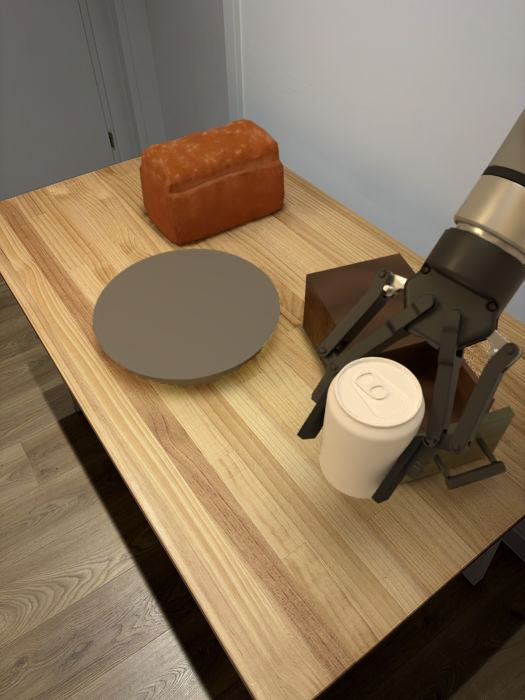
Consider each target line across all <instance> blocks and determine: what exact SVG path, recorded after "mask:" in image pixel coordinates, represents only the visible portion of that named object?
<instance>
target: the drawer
mask: <svg viewBox="0 0 525 700" xmlns="http://www.w3.org/2000/svg"><path fill="white" fill-rule="evenodd" d="M438 356H439V350H437V349H435V348H434V347H432V346H431V345H430V344H427V345H423V346H419V347H416V348H412V349H408V350H405V351H401V352H397V353H393V354H390V355H386V356H382V357H379V358H385V359H389V360H392V361H395V362H397V363H399V364H401V365H403V366H404V367H406V368H407V369H408V370H409V371H410V372H412V374H413V375H414V376H415V377H416V378H417V380H418V382H419V384H420V386H421V389H422V394H423V397H424V402H425V412H424V417H423V420H422V422H421V425H420V428H419V431H418V433H417V436H421V435H423V436H424V437H425V435H426V430H427V425H428V419H429V414H430V408H431V403H432V397H433V392H434V386H435V381H436V376H437V370H438ZM478 379H479V377H478V375H477V374H476V372H475V371H474V369H472V367H471V366H470V364H469V363H468V362H467V361H466V359H465V358H464V357H463V361H462V365H461V367H460V370H459V376H458V381H457V386H456V392H455V397H454V403H453V408H452V414H451V419H450V425H449V430H448V434H449V435H453V433H454V431H455V429H456V427H457V425H458V422H459V420H460V418H461V416H462V414H463V412H464V410H465V407H466V405H467V403H468V401H469V399H470V397H471V394H472V392H473V390H474V388H475V386H476V384H477V381H478ZM495 401H496V399H495V396H494V397H493V399H492V401H491V403H490V405H489V407H488V410H487V412H486V414H485V416H484V418H483V420H482V422H481V424H480V427H479V429H478V431H477V433H476V435H475V437H474V439H473V442H472V444H471V446H470V448H469V450H468V451H466V452H464V453H461V454H453V453H452V452H449V451H446V450H439V451H438V452H437V454H436V455H435V456H434V458H433V459H432V461H431V462H430V463H429V465H428V466H427V468H426V469H425V470H424V472H423V473H422V474H421V475H420V476H418V477H416V478H413V479H412V478H410V477H409V476H408V475H407V474H406V475H405V477H404V478H403V479H402V481H401V482H400V484H399V485H402V484H405V483H408V482H411V481H414V480H417V479H420V478H423V477H427V476H430V475H433V474H437V473H441V475H442V476H443V478H444V480H443V481H444V485H445V487H446V489H447V490H448V491H454V490H457V489H460V488H463V487H465V486H469V485H472V484H475V483H478V482H481V481H484V480H486V479H489V478H493V477H496V476H499V475H501V474H505V473H506V472H507V466H506V463H505V462H504V461H502V460H498V459H497V458H496V455H494V452H495V450H496V448H497V446H498V445H499V443H500V441H501V439H502V438H503V436H504V435H505V433H506V431H507V429H508V428H509V426H510V424H511V423H512V421H513V419H514V417H515V415H516V413H515V412H514V410H513V409H512V407H511V406H506V407H502V408H498V409H496V410H492V411H491V409H492V407H493V405H494V403H495ZM485 457H486V458H487V460H488V461H489V462H490V463H487V464H484V465H481V466H478V467H475V468H472V469H469V470H465V471H463V472H460V473H457V474H454V475H452V474H451V473H450V471H449V469H451V468H454V467H458V466H461V465H463V464H467V463H470V462H473V461H477V460H479V459H483V458H485Z"/></svg>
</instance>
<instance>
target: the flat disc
mask: <svg viewBox="0 0 525 700" xmlns="http://www.w3.org/2000/svg"><path fill="white" fill-rule="evenodd" d="M280 316H281V301H280V296H279V293H278V290H277V288H276V285H275V284H274V282H273V281H272V279H271V278H270V277H269V275H268V274H267V273H266V272H264V270H263V269H261V268H260V267H259V266H257V265H256V264H254V263H253V262H252V261H250V260H248V259H246V258H243V257H241V256H239V255H237V254H233V253H230V252H226V251H222V250H217V249H209V248H181V249H174V250H168V251H163V252H160V253H157V254H154V255H149V256H148V257H145V258H142V259H140V260H138V261H136V262H135V263H132V264H130V265H129V266H128V267H126V268H124V269H122V270H121V271H120V272H119V273H118V274H116V275H115V276H113V278H112V279H111V280H110V281H109V282H108V283H107V284H106V285H105V287H104V288H103V290H101V292H100V294H99V296H98V298H97V299H96V302H95V305H94V307H93V311H92V328H93V329H92V330H93V334H94V336H95V339H96V341H97V343H98V345H99V346H100V347H101V349H102V350H103V352H104V353H105V354H106V355H107V356H108V357H109V358H110V359H111V360H113V361H114V362H115V363H117V364H118V365H120V366H121V367H123V368H125V369H126V370H127V371H128V372H130V373H132V374H133V375H134V376H135V377H138V378H141V379H142V380H146V381H149V382H150V381H151V382H155V383H159V384H165V385H169V386H171V387H179V388H182V389H183V388H191V387H193V388H195V387H197V388H198V387H201V386H205V385H210V384H211V383H215V382H218V381H219V380H221V379H222V378H224V377H226V376H228V375H231V374H233V373H234V372H237V371H239V370H240V369H242V368H243V367H244V366H245V365H247V364H248V363H250V362H251V361H252V360H254V359H255V358H256V357H257V356H258V355H259V354H260V352H261V351H262V349H263V348H264V346H266V344H267V343H268V341H270V339H271V337H272V336H273V334H274V332H275V330H276V328H277V326H278V324H279V319H280Z"/></svg>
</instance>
